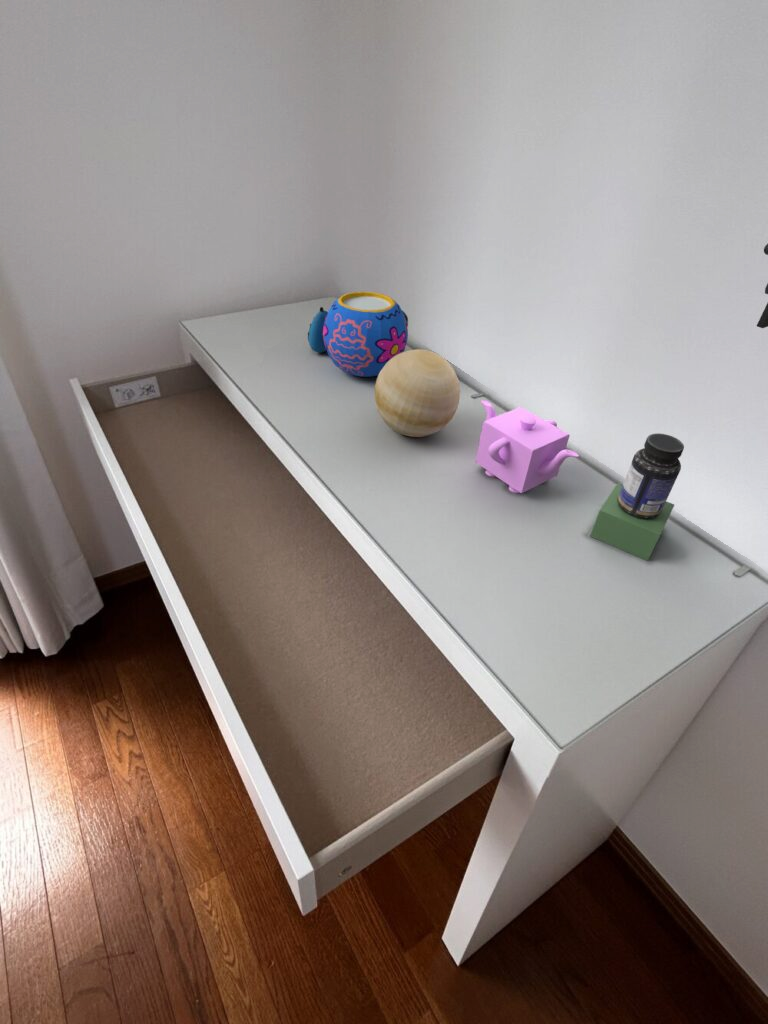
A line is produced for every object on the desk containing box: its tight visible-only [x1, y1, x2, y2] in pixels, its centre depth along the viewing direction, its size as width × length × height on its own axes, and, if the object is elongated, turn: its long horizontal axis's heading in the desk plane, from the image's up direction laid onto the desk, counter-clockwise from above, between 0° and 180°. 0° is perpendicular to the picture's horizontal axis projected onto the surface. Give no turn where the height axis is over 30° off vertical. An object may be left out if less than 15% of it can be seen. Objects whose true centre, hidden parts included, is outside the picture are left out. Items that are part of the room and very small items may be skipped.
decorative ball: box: [374, 348, 461, 438], centre depth 100 cm, size 15×15×15 cm
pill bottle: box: [617, 432, 685, 519], centre depth 79 cm, size 6×6×11 cm
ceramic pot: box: [323, 291, 409, 378], centre depth 118 cm, size 18×18×15 cm
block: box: [589, 482, 675, 561], centre depth 84 cm, size 8×8×5 cm
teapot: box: [475, 399, 580, 494], centre depth 92 cm, size 15×13×11 cm
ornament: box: [307, 306, 328, 354], centre depth 126 cm, size 8×5×10 cm, turn 152°
